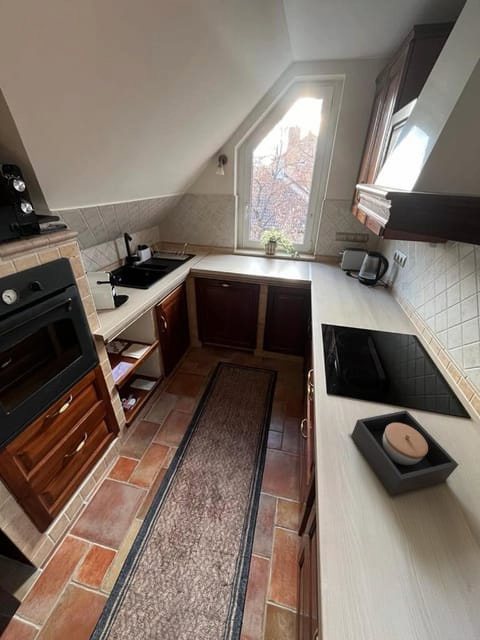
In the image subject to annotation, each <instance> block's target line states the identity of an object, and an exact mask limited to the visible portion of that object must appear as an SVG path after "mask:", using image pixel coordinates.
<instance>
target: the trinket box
mask: <svg viewBox="0 0 480 640" xmlns="http://www.w3.org/2000/svg"><path fill="white" fill-rule="evenodd" d="M382 444H383V448H384V450H385V452H386V454H387V455H388V457H389V458H390V459H391V460H393V461H394V462H396V463H398V464H401V465H409V466H410V465H414V464H416V463H418V462H419V461H421V460H422V458H423V457H424V456H425V455H426V454H427V452H428V445H427V442H426V441H425V439H424V438H423V436H422V435H421V434H420V433H419V432H418V431H416V430H415V429H413V428H412V427H410V426H408V425H405V424H402V423H391V424H389V425H388V426H387V427H386V429H385V432H384V434H383V438H382Z"/></svg>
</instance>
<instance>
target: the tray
mask: <svg viewBox="0 0 480 640" xmlns="http://www.w3.org/2000/svg"><path fill="white" fill-rule="evenodd" d="M391 423H402V424H405V425H408V426H410V427H412V428H413V429H415V430H416V431H418V432H419V433H420V434H421V435H422V436H423V438H424V439H425V441H426V442H427V445H428V452H427V454H426V455H425V456H424V457H423V458H422V460H421V461H419V462H418V463H416V464H414V465H410V466H409V465H401V464H398V463H396V462H394V461H393V460H391V459H390V458H389V457H388V455H387V454H386V452H385V450H384V448H383V444H382V438H383V434H384V432H385V429H386V427H387V426H388V425H389V424H391ZM350 437H351V438H352V439H353V441H354V442H355V444H356V445H357V447H358V449H359V450H360V451H361V454H362V455H363V456H364V458H365V459H366V460H367V462H368V464H369V466H370V467H371V468H372V469H373V471H374V472H375V474H376V476H377V477H378V479H379V480H380V482H381V483H382V485H383V486H384V488H385V489H386V491H387V492H388V494H389V495H390V496H395V495H398V494H402V493H406V492H409V491H413V490H418V489H421V488H424V487H428V486H432V485H436V484H439V483H442V482H446V481H447V480H448V479H449V477H450V476H451V475H452V474H453V472H454V471H455V470H456V469H457V468H458V466H459V463H458V462H457V461H456V460H455V459H454V457H452V456H451V454H449V453H448V451H446V450H445V449H444V448H443V446H442V445H441V444H440V443H439V442H438V441H437V440H436V439H435V438H434V437H433V436H432V435H431V434H430V433H429V432H428V431H427V430H426V429H425V427H424V426H422V425H421V424H420V423H419V421H417V419H416V418H415V417H413V415H412V414H411V413H410V412H409V411H408V410H407V409H406V410H400V411H395V412H389V413H385V414H380V415H375V416H370V417H365V418H360V419H357V420H356V423H355V424H354V428H353V431H352V432H351V436H350Z"/></svg>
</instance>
